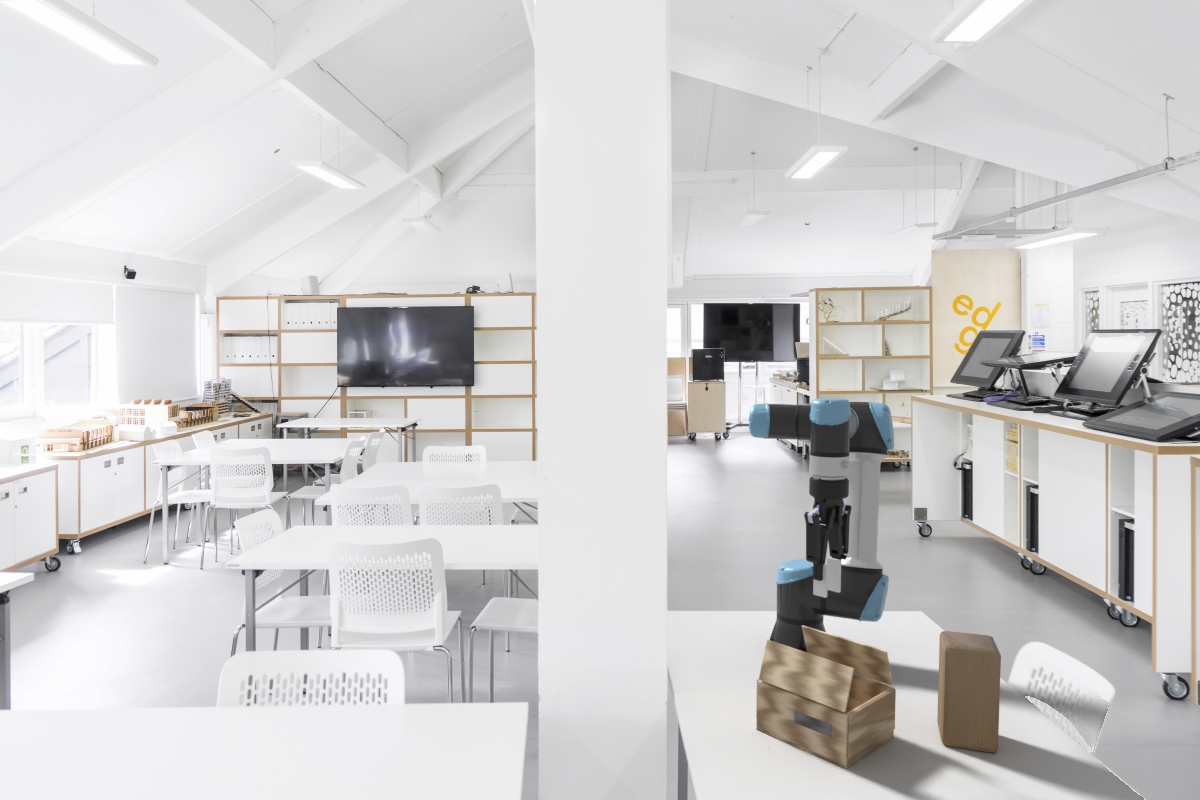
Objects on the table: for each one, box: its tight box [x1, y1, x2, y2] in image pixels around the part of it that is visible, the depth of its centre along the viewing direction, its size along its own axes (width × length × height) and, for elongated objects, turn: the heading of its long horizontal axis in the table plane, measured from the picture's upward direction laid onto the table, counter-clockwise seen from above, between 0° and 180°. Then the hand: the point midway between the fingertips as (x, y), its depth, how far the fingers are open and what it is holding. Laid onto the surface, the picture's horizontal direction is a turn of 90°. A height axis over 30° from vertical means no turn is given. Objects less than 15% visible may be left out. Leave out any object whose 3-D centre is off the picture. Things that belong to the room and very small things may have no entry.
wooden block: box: [936, 630, 1002, 754], centre depth 152 cm, size 10×10×20 cm
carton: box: [755, 673, 897, 770], centre depth 154 cm, size 21×18×10 cm
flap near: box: [758, 639, 854, 712], centre depth 149 cm, size 19×1×8 cm, turn 42°
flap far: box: [802, 625, 894, 686], centre depth 159 cm, size 19×1×8 cm, turn 42°
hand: (826, 592), depth 153 cm, fingers open, 4 cm apart
